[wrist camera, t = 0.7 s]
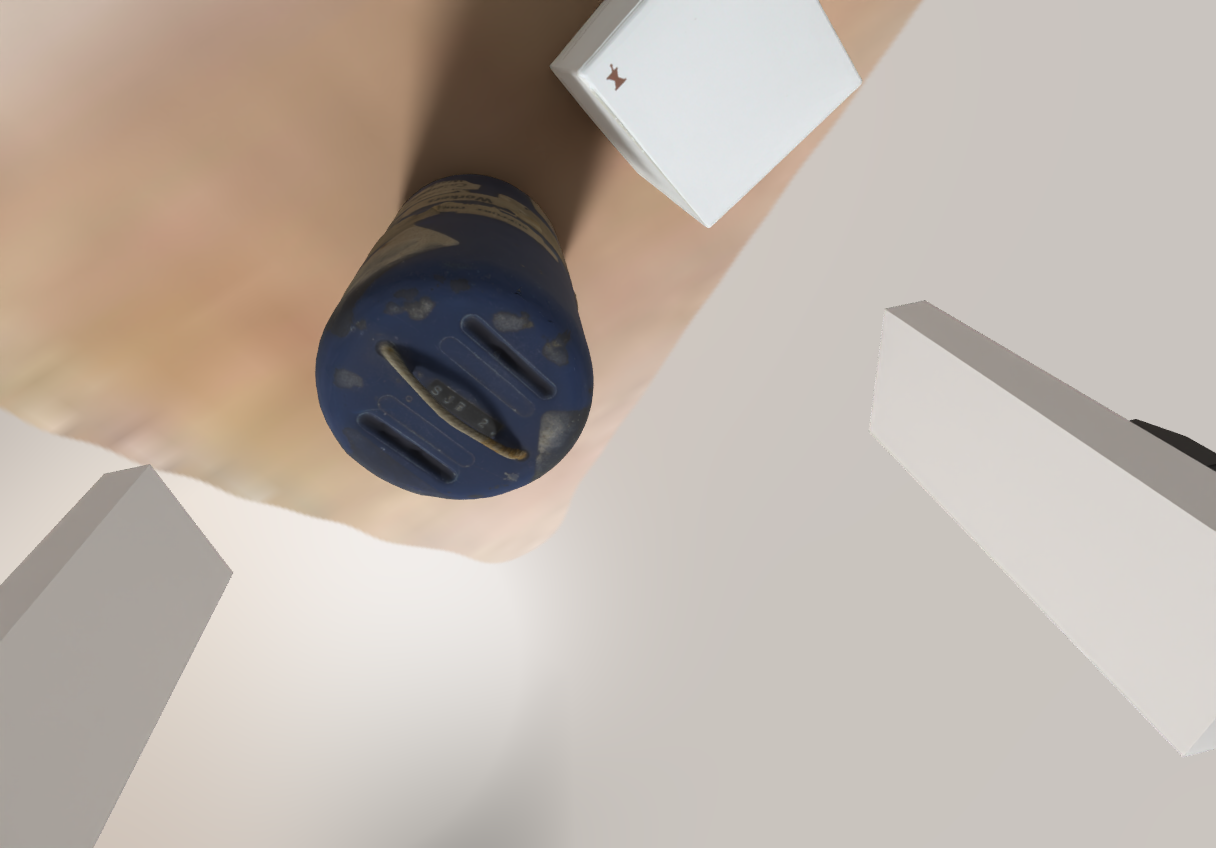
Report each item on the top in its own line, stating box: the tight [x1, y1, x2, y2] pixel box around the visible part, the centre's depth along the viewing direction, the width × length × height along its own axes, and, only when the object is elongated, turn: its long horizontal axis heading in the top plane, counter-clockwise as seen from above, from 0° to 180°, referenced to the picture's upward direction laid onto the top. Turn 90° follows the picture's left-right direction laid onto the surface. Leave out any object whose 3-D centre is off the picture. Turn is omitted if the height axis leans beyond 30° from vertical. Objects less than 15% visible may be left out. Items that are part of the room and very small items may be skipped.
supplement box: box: [550, 0, 862, 228], centre depth 24 cm, size 7×7×13 cm
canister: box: [315, 174, 593, 500], centre depth 26 cm, size 10×10×18 cm
